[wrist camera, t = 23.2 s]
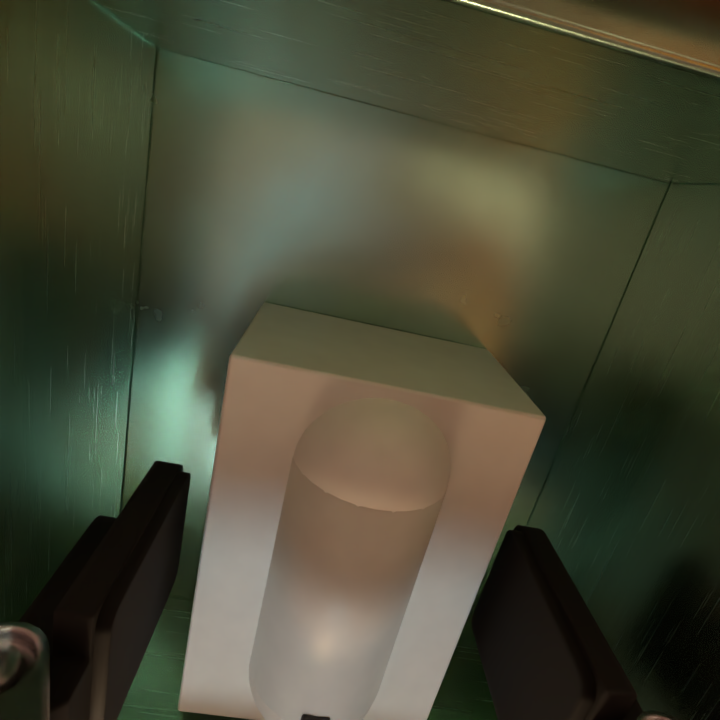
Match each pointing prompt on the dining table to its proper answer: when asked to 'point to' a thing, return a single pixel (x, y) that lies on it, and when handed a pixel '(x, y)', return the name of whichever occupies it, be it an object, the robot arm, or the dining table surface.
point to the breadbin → (373, 272)
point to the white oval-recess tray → (348, 518)
